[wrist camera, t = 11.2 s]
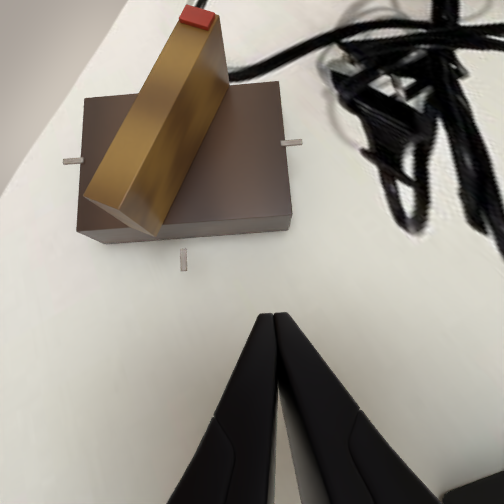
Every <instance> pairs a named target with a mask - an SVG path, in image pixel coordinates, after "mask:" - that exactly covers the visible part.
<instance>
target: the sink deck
mask: <svg viewBox="0 0 504 504" xmlns="http://www.w3.org/2000/svg"><path fill="white" fill-rule="evenodd" d="M138 94H139V93H138ZM138 94H127V95H116V96H104V97H93V98H85V99H84V115H83V131H82V147H81V158H69V159H63V164H64V165H68V164H80V163H81V164H80V180H79V196H78V213H77V229H76V231H77V232H79V233H81V234H83V235H86V236H88V237H90V238H92V239H94V240H97V241H99V242H101V243H103V244H113V243H126V242H139V241H152V240H165V239H178V238H191V237H204V236H218V235H231V234H244V233H257V232H270V231H283V230H288V228H289V225H290V221H291V218H292V205H291V195H290V185H289V176H288V166H287V156H286V146H296V145H302V139H297V140H285V136H284V127H283V117H282V107H281V97H280V87H279V81H274V82H262V83H251V84H240V85H229V87H228V89H227V91H226V93H225V95H224V97H223V99H222V102H221V104H220V106H219V108H218V110H217V112H216V114H215V116H214V118H213V120H212V122H211V124H210V126H209V128H208V131H207V133H206V135H205V137H204V139H203V141H202V143H201V145H200V147H199V149H198V151H197V153H196V155H195V158H194V160H193V162H192V164H191V166H190V168H189V170H188V172H187V174H186V176H185V178H184V180H183V182H182V185H181V187H180V189H179V191H178V193H177V195H176V197H175V199H174V201H173V203H172V205H171V207H170V209H169V212H168V214H167V216H166V218H165V220H164V222H163V224H162V226H161V228H160V230H159V232H158V234H157V236H156V237H154V236H151V235H149V234H146V233H144V232H141V231H139V230H136V229H134V228H131V227H129V226H127V225H126V224H124V223H123V222H121V221H120V220H118V219H117V218H115V217H114V216H112V215H111V214H109V213H108V212H106V211H105V210H103V209H102V208H100V207H99V206H97V205H96V204H94V203H93V202H91V201H90V200H88V199H87V198H85V197H84V196H83V194H84V193H85V191H86V189H87V187H88V185H89V183H90V182H91V180H92V178H93V176H94V174H95V172H96V171H97V169H98V167H99V165H100V163H101V161H102V160H103V158H104V156H105V154H106V152H107V150H108V149H109V147H110V145H111V143H112V141H113V139H114V138H115V136H116V134H117V132H118V130H119V129H120V127H121V125H122V123H123V121H124V119H125V118H126V116H127V114H128V112H129V110H130V108H131V107H132V105H133V103H134V101H135V99H136V97H137V96H138ZM180 259H181V271H187V249H186V248H184V249H180Z"/></svg>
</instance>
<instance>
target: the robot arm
mask: <svg viewBox="0 0 504 504" xmlns="http://www.w3.org/2000/svg"><path fill="white" fill-rule="evenodd" d="M278 389H279V395H280V401H281V406H282V411H283V415H284V420H285V425H286V430H287V435H288V440H289V445H290V450H291V454H292V459H293V464H294V469H295V474H296V479H297V484H298V488H299V493H300V498H301V503H302V504H442V503H441V502H440V501H439V500H438V499H437V497H436V496H435V495H434V494H433V493H432V492H431V491H430V490H429V489H428V488H427V487H426V485H425V484H424V483H423V482H422V481H421V480H420V479H419V478H418V477H417V476H416V475H415V474H414V472H413V471H412V470H411V469H410V468H409V467H408V466H407V465H406V463H405V462H404V461H403V460H402V459H401V458H400V457H399V456H398V454H397V453H396V452H395V451H394V450H393V449H392V448H391V446H390V445H389V444H388V443H387V442H386V440H385V439H384V438H383V437H382V435H381V434H380V433H379V432H378V430H377V429H376V428H375V427H374V425H373V424H372V423H371V421H370V420H369V419H368V417H367V416H366V415H365V413H364V412H363V411H362V410H359V409H360V407H359V406H358V404H357V403H356V402H355V401H354V399H353V398H352V397H351V395H350V394H349V393H348V391H347V390H346V389H345V387H344V386H343V385H342V383H341V382H340V381H339V379H338V378H337V377H336V375H335V374H334V373H333V371H332V370H331V369H330V368H329V366H328V365H327V364H326V362H325V361H324V360H323V358H322V357H321V356H320V354H319V353H318V352H317V350H316V349H315V348H314V346H313V345H312V344H311V342H310V341H309V340H308V339H307V337H306V336H305V335H304V333H303V332H302V331H301V329H300V328H299V327H298V325H297V324H296V323H295V321H294V320H293V319H292V317H291V316H290V315H289V314H288V313H287V312H281V313H274V315H273V314H272V313H262V314H259V315H258V317H257V319H256V321H255V324H254V326H253V328H252V330H251V332H250V335H249V337H248V339H247V341H246V344H245V346H244V348H243V350H242V352H241V355H240V357H239V359H238V361H237V364H236V366H235V368H234V370H233V372H232V375H231V377H230V379H229V381H228V384H227V386H226V388H225V390H224V392H223V395H222V397H221V399H220V401H219V403H218V406H217V408H216V410H215V412H214V417H212V419H211V421H210V423H209V425H208V427H207V430H206V432H205V434H204V436H203V438H202V440H201V442H200V444H199V446H198V448H197V450H196V452H195V454H194V456H193V458H192V460H191V462H190V464H189V465H188V467H187V469H186V471H185V473H184V474H183V476H182V478H181V480H180V481H179V483H178V485H177V487H176V488H175V490H174V492H173V493H172V495H171V497H170V498H169V500H168V502H167V503H166V504H274V494H275V466H276V438H277V410H278Z"/></svg>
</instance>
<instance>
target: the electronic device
mask: <svg viewBox="0 0 504 504" xmlns="http://www.w3.org/2000/svg"><path fill="white" fill-rule="evenodd" d="M443 503H444V504H504V471H503V472H500V473H497V474H495V475H492V476H489V477H487V478H484V479H481V480H479V481H476V482H473V483H471V484H468V485H465V486H463V487H460V488H457V489H455V490H452V491H450V492H448V493H447V494H445V495H444V498H443Z"/></svg>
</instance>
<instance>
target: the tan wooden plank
mask: <svg viewBox="0 0 504 504" xmlns="http://www.w3.org/2000/svg"><path fill="white" fill-rule="evenodd" d="M228 87H229V78H228V71H227V65H226V58H225V51H224V44H223V38H222V31H221V24H220V18H219V15H216V14H215V13H214V12H210V11H207V10H204V9H200V8H197V7H193V6H190V5H186V6H185V8H184V10H183V11H182V13H181V15H180V17H179V21H178V22H177V24H176V26H175V28H174V30H173V32H172V33H171V35H170V37H169V39H168V41H167V43H166V44H165V46H164V48H163V50H162V52H161V54H160V55H159V57H158V59H157V61H156V63H155V65H154V66H153V68H152V70H151V72H150V74H149V76H148V77H147V79H146V81H145V83H144V85H143V86H142V88H141V90H140V92H139V94H138V96H137V97H136V99H135V101H134V103H133V105H132V107H131V108H130V110H129V112H128V114H127V116H126V118H125V119H124V121H123V123H122V125H121V127H120V129H119V130H118V132H117V134H116V136H115V138H114V139H113V141H112V143H111V145H110V147H109V149H108V150H107V152H106V154H105V156H104V158H103V160H102V161H101V163H100V165H99V167H98V169H97V171H96V172H95V174H94V176H93V178H92V180H91V182H90V183H89V185H88V187H87V189H86V191H85V193H84V194H83V196H84V197H85V198H87V199H88V200H90V201H91V202H93V203H94V204H96V205H97V206H99V207H100V208H102V209H103V210H105V211H106V212H108V213H109V214H111V215H112V216H114V217H115V218H117V219H118V220H120V221H121V222H123V223H124V224H126V225H127V226H129V227H131V228H134V229H136V230H139V231H141V232H144V233H146V234H149V235H151V236H154V237H156V236H157V234H158V232H159V230H160V228H161V226H162V224H163V222H164V220H165V218H166V216H167V214H168V212H169V209H170V207H171V205H172V203H173V201H174V199H175V197H176V195H177V193H178V191H179V189H180V187H181V185H182V182H183V180H184V178H185V176H186V174H187V172H188V170H189V168H190V166H191V164H192V162H193V160H194V158H195V155H196V153H197V151H198V149H199V147H200V145H201V143H202V141H203V139H204V137H205V135H206V133H207V131H208V128H209V126H210V124H211V122H212V120H213V118H214V116H215V114H216V112H217V110H218V108H219V106H220V104H221V102H222V99H223V97H224V95H225V93H226V91H227V89H228Z"/></svg>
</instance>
